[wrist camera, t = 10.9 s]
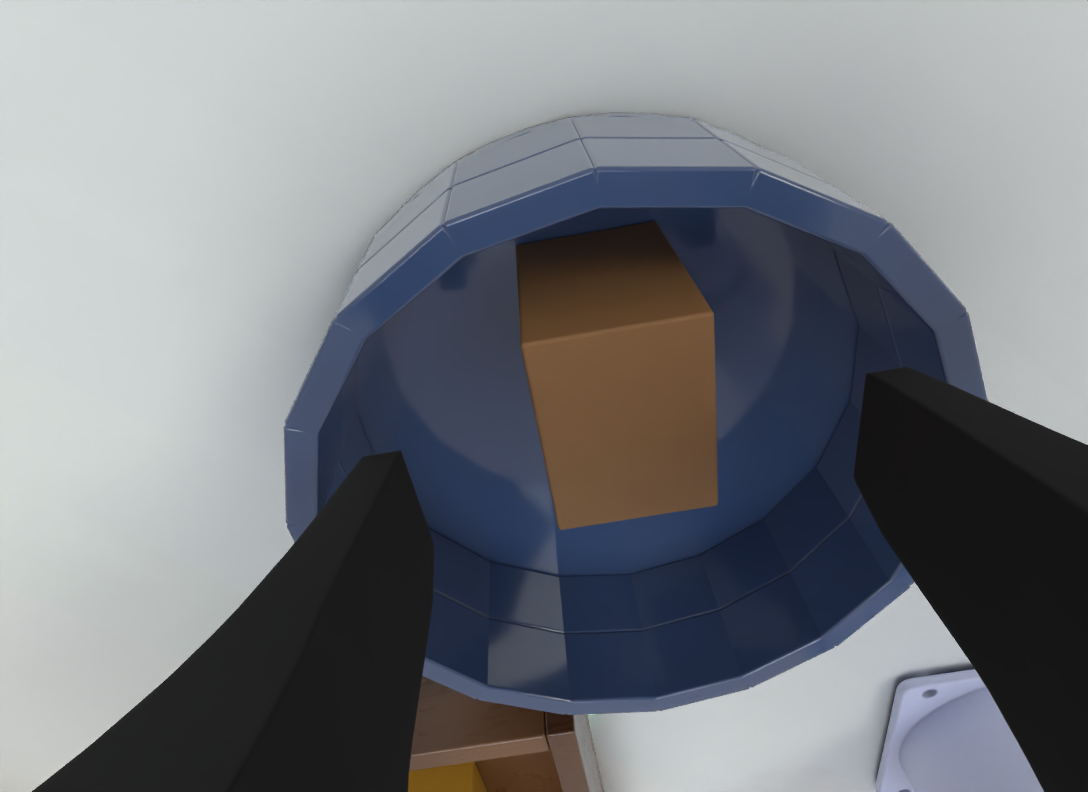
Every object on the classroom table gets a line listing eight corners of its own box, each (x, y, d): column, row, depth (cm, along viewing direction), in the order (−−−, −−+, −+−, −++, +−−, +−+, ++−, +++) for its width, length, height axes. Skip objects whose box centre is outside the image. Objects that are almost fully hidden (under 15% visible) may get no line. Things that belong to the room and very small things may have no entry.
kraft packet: (656, 219, 14) (715, 312, 10) (667, 380, 16) (719, 506, 12) (515, 244, 14) (519, 344, 10) (545, 400, 16) (559, 532, 12)
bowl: (904, 50, 13) (1075, 80, 9) (845, 541, 20) (926, 673, 16) (245, 171, 13) (142, 249, 9) (418, 606, 20) (399, 750, 17)
